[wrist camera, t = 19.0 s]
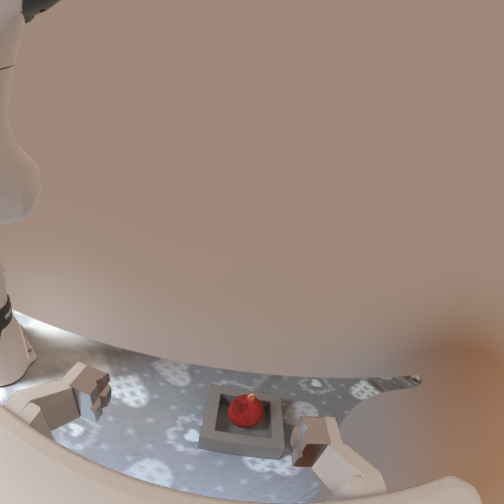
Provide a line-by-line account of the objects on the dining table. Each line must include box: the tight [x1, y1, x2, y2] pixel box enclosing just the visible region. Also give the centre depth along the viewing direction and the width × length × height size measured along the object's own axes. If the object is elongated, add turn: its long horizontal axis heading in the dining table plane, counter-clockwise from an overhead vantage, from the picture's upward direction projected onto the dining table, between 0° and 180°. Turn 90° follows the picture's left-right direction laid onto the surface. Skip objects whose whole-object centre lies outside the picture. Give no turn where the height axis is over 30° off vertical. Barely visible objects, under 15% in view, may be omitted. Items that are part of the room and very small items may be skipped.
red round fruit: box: [228, 393, 264, 428], centre depth 39 cm, size 6×6×8 cm
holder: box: [198, 384, 285, 459], centre depth 40 cm, size 13×13×4 cm
